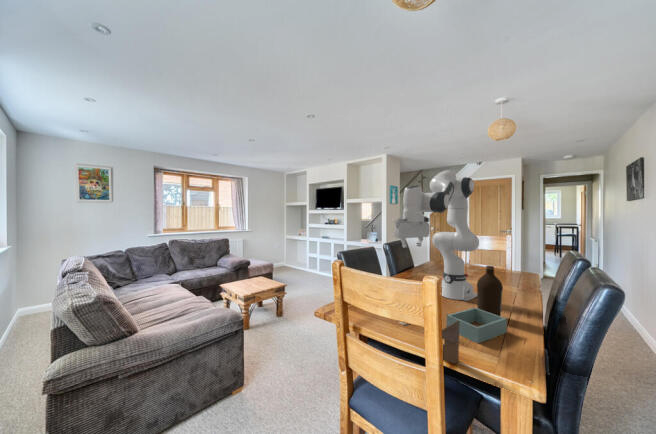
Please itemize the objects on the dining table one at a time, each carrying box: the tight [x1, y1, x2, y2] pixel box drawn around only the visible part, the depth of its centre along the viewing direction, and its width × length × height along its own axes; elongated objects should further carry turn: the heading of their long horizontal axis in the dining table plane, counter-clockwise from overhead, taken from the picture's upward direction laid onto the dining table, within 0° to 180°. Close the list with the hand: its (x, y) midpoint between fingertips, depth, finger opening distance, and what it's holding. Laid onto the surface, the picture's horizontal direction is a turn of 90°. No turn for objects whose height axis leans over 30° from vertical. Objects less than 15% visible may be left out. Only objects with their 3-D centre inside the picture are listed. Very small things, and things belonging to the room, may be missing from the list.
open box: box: [446, 307, 508, 344], centre depth 110 cm, size 20×14×6 cm
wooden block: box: [441, 320, 460, 365], centre depth 90 cm, size 4×11×18 cm, turn 38°
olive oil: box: [476, 265, 504, 317], centre depth 124 cm, size 11×11×25 cm
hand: (411, 246), depth 124 cm, fingers open, 8 cm apart
